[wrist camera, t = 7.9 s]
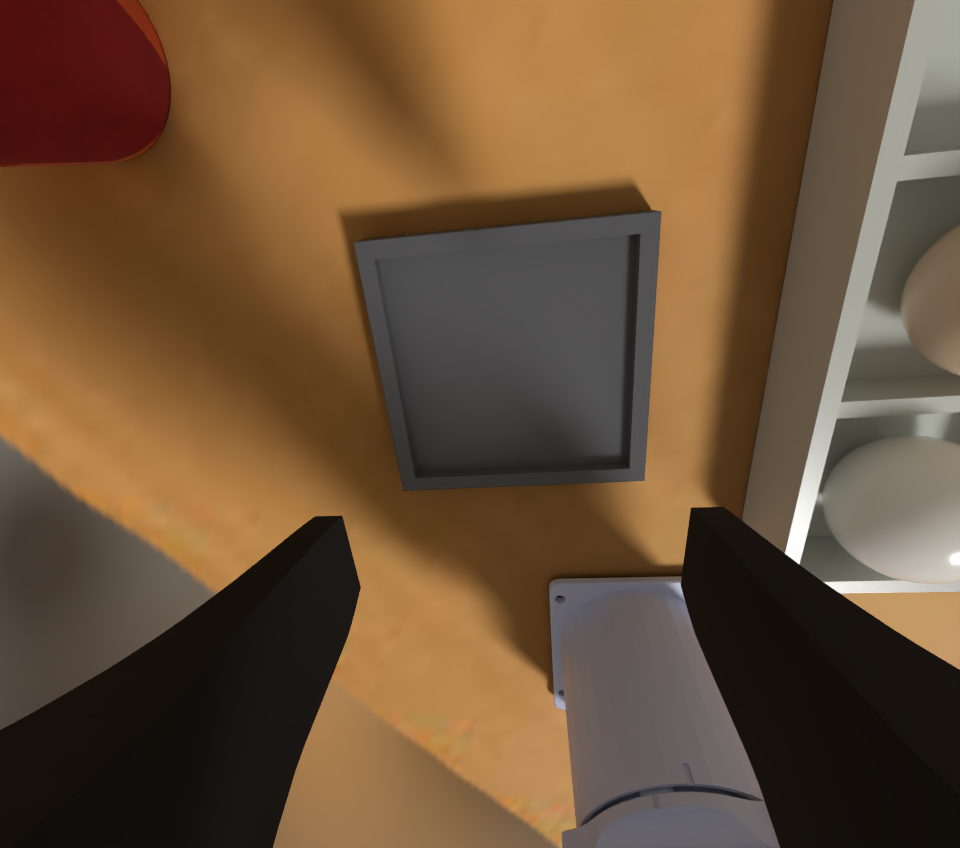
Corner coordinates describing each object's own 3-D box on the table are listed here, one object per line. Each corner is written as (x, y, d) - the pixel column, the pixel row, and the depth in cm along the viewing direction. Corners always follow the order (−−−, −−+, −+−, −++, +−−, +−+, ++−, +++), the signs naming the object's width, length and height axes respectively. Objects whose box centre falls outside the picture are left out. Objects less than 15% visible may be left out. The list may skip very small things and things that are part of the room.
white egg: (914, 519, 19) (1033, 617, 15) (784, 523, 20) (862, 619, 15) (956, 407, 17) (1109, 484, 13) (809, 415, 18) (907, 491, 13)
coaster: (638, 466, 20) (644, 480, 19) (408, 476, 21) (403, 490, 20) (652, 210, 16) (661, 211, 15) (363, 239, 17) (353, 242, 16)
